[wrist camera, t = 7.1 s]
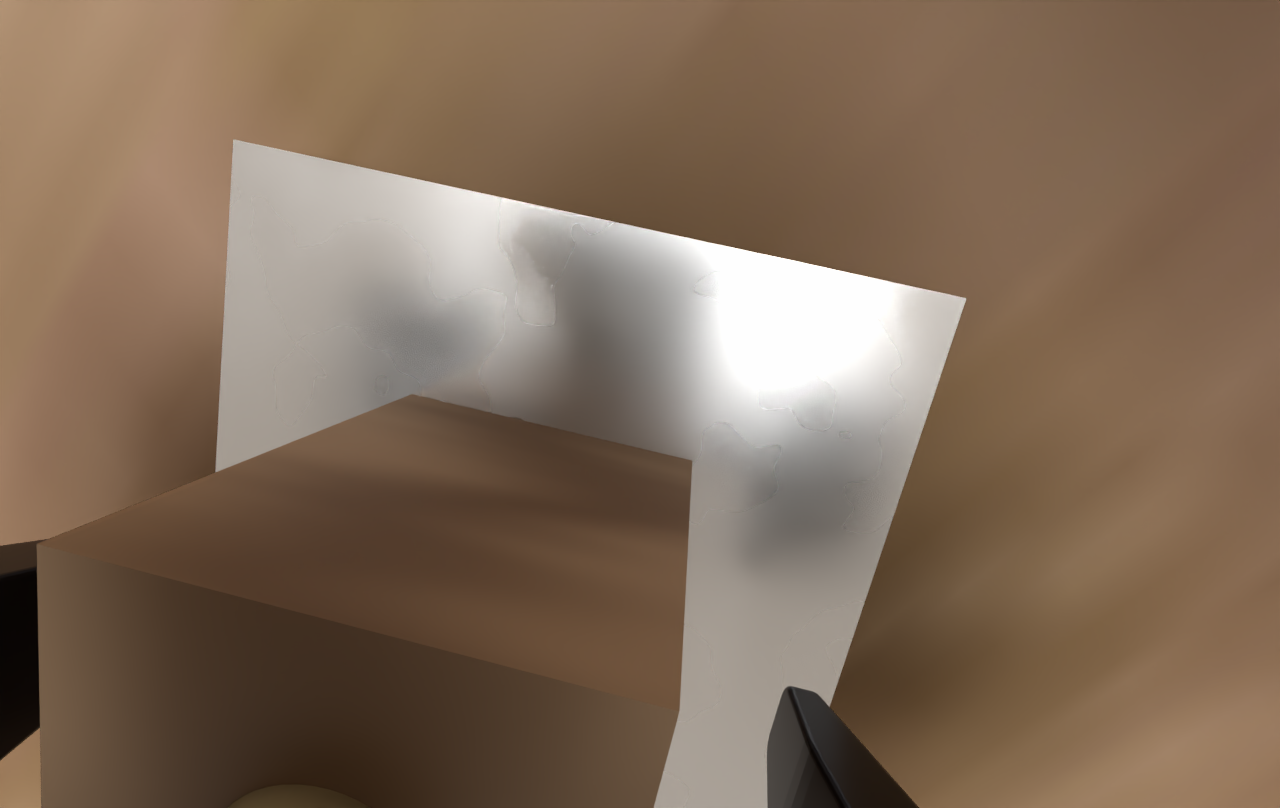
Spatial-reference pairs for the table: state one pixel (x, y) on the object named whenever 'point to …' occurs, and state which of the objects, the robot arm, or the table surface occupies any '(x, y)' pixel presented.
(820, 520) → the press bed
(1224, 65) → the table surface
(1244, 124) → the table surface
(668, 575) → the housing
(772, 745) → the robot arm
